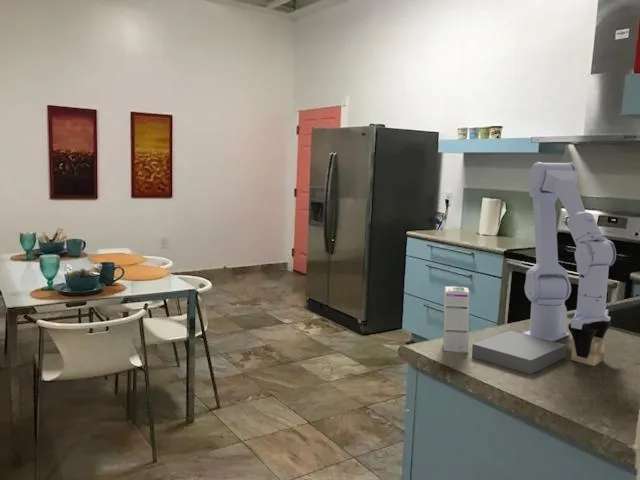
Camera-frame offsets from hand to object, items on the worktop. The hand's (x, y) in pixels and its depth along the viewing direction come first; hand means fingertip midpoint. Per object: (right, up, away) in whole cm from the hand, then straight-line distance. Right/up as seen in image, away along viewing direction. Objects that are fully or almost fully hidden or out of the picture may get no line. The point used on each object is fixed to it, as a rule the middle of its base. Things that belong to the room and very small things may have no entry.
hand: (587, 354), depth 124 cm
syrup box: (-28, 0, +8) cm, 29 cm away
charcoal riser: (-15, -1, +2) cm, 15 cm away
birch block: (0, -1, 0) cm, 1 cm away
